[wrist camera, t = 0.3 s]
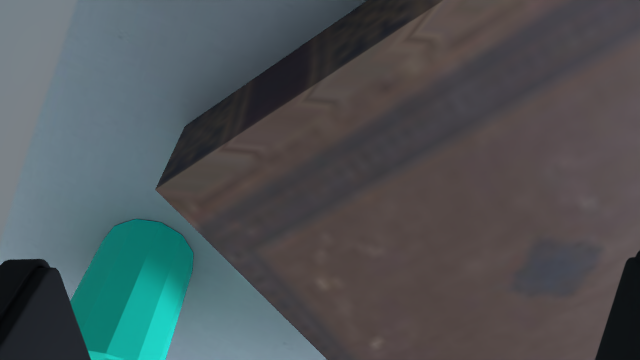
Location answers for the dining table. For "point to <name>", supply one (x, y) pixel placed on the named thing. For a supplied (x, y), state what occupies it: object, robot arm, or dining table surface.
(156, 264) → the candle
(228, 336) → the dining table surface
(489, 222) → the book
